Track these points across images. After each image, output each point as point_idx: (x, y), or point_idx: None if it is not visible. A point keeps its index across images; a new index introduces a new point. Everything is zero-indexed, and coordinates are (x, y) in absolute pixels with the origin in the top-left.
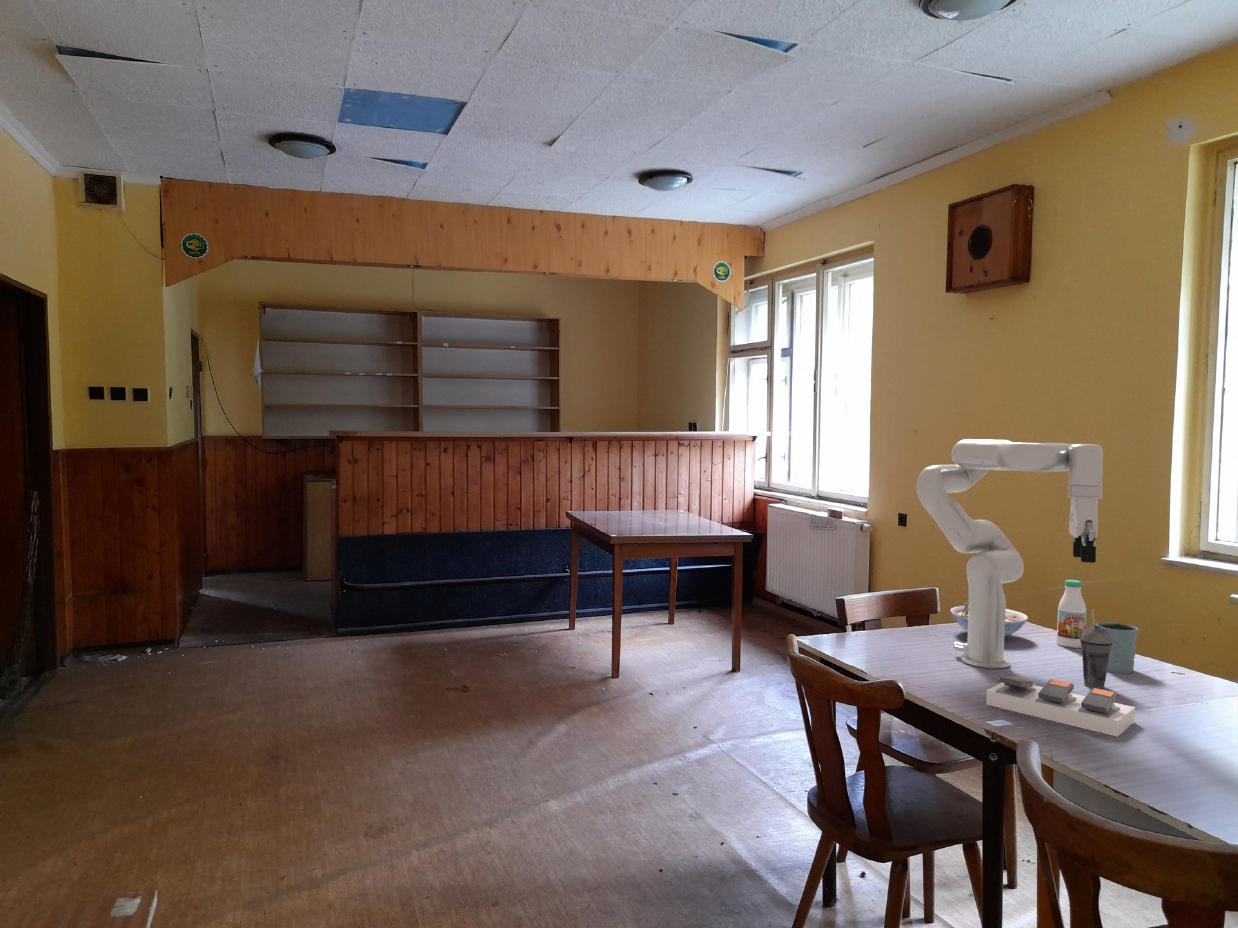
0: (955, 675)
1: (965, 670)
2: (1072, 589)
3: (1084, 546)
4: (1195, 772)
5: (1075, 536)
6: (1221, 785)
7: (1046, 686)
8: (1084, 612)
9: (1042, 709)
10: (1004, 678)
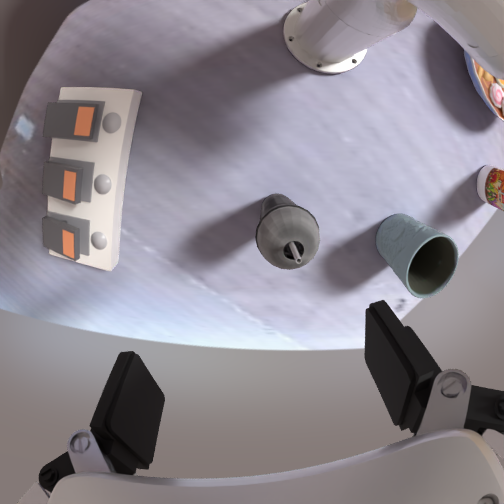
0: (202, 6)
1: (247, 12)
2: None
3: (101, 435)
4: (32, 301)
5: (89, 474)
6: (25, 312)
7: (59, 168)
8: None
9: None
10: (47, 110)
